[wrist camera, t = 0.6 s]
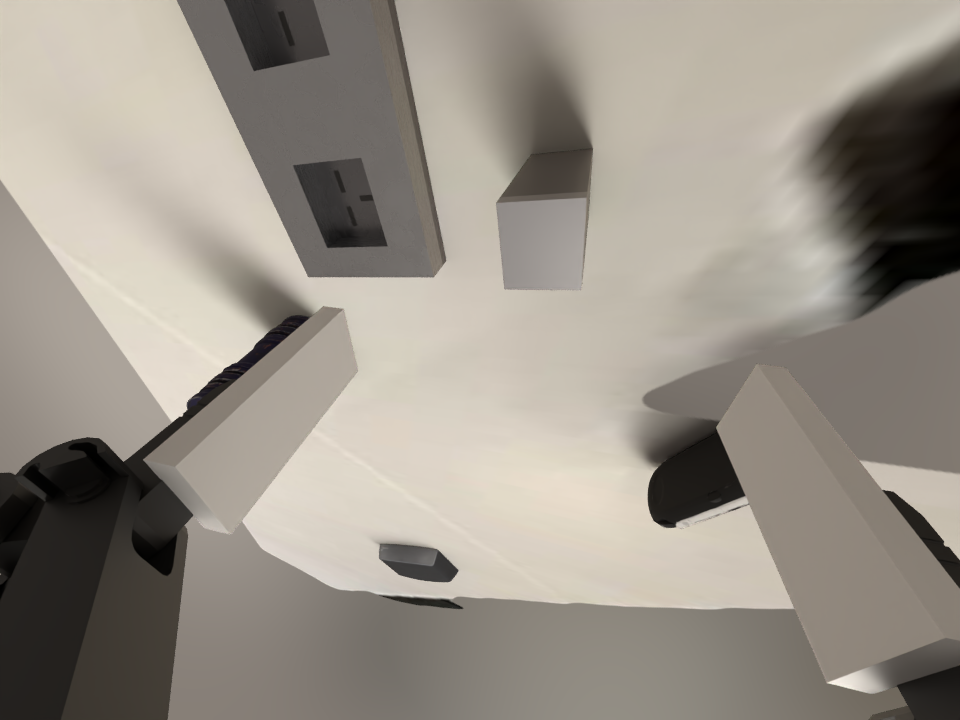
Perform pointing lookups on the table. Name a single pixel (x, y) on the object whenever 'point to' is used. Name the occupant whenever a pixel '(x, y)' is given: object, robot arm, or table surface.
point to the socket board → (328, 128)
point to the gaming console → (695, 486)
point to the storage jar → (252, 356)
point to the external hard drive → (417, 562)
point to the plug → (546, 222)
